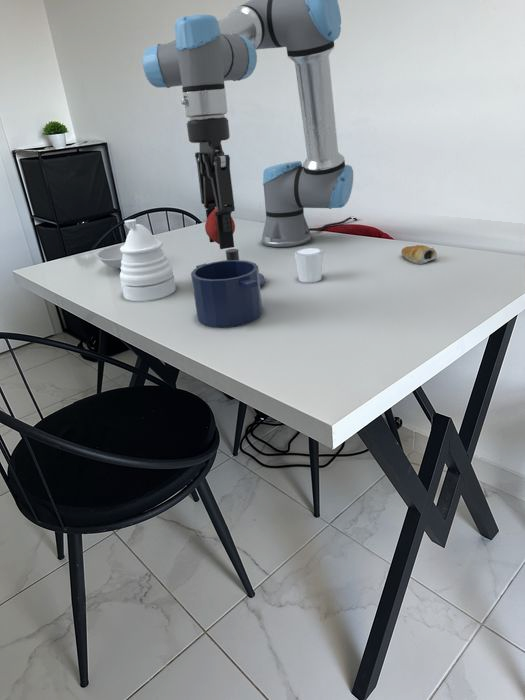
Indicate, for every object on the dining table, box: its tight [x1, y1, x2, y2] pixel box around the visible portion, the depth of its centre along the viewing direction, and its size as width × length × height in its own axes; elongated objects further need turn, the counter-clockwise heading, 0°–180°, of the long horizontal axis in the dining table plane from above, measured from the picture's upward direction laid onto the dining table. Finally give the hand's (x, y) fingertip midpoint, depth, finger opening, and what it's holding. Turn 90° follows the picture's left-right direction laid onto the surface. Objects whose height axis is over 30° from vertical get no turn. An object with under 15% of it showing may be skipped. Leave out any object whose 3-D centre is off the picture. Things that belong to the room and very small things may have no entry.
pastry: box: [400, 244, 437, 265], centre depth 133 cm, size 9×7×4 cm
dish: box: [95, 243, 125, 269], centre depth 147 cm, size 18×14×5 cm
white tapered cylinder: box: [294, 247, 324, 284], centre depth 124 cm, size 7×7×7 cm
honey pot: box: [119, 219, 177, 302], centre depth 123 cm, size 13×13×18 cm
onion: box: [204, 207, 236, 245], centre depth 101 cm, size 6×6×8 cm
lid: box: [225, 248, 266, 286], centre depth 125 cm, size 15×15×9 cm
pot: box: [190, 259, 263, 329], centre depth 107 cm, size 14×19×10 cm
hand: (221, 244), depth 102 cm, fingers closed on onion, 6 cm apart
